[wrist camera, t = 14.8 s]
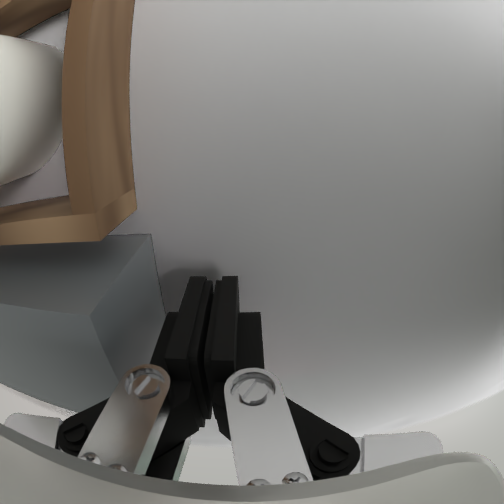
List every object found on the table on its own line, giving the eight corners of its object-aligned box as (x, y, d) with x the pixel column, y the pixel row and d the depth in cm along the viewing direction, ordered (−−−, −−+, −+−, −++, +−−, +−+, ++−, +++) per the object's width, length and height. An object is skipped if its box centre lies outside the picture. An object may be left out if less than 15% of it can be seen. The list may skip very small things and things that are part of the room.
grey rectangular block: (150, 234, 10) (89, 315, 5) (170, 336, 12) (144, 427, 8) (3, 241, 10) (-59, 290, 5) (32, 320, 12) (-10, 377, 7)
